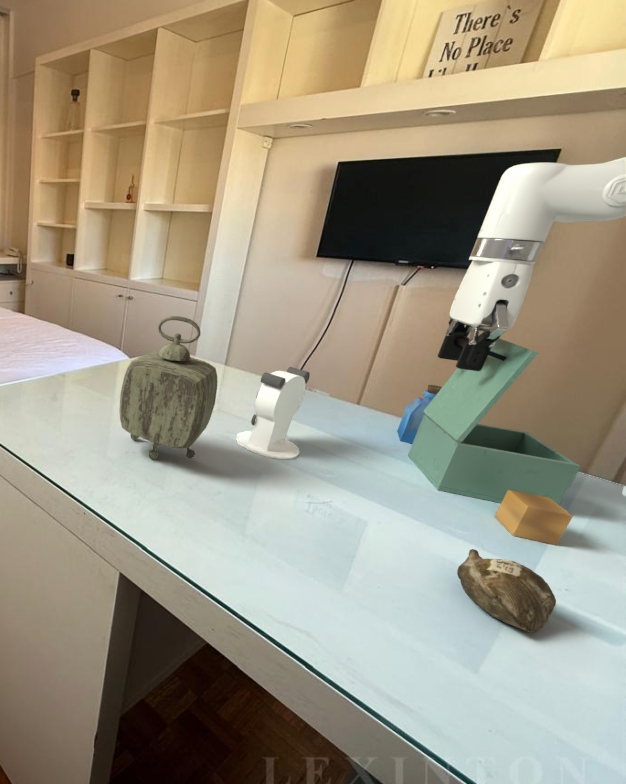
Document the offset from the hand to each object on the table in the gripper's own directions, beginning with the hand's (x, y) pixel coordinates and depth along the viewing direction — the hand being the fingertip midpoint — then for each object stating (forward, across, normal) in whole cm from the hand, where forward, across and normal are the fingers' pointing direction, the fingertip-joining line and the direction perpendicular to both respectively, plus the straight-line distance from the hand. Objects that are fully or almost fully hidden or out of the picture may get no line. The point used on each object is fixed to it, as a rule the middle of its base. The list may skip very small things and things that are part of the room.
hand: (458, 363), depth 76 cm
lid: (+4, 0, -4) cm, 5 cm away
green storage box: (+21, 0, -9) cm, 22 cm away
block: (+21, -15, -9) cm, 27 cm away
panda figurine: (+21, -2, +25) cm, 33 cm away
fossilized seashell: (+21, -36, +4) cm, 42 cm away
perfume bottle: (+21, +17, -6) cm, 28 cm away
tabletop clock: (+21, -17, +45) cm, 52 cm away
